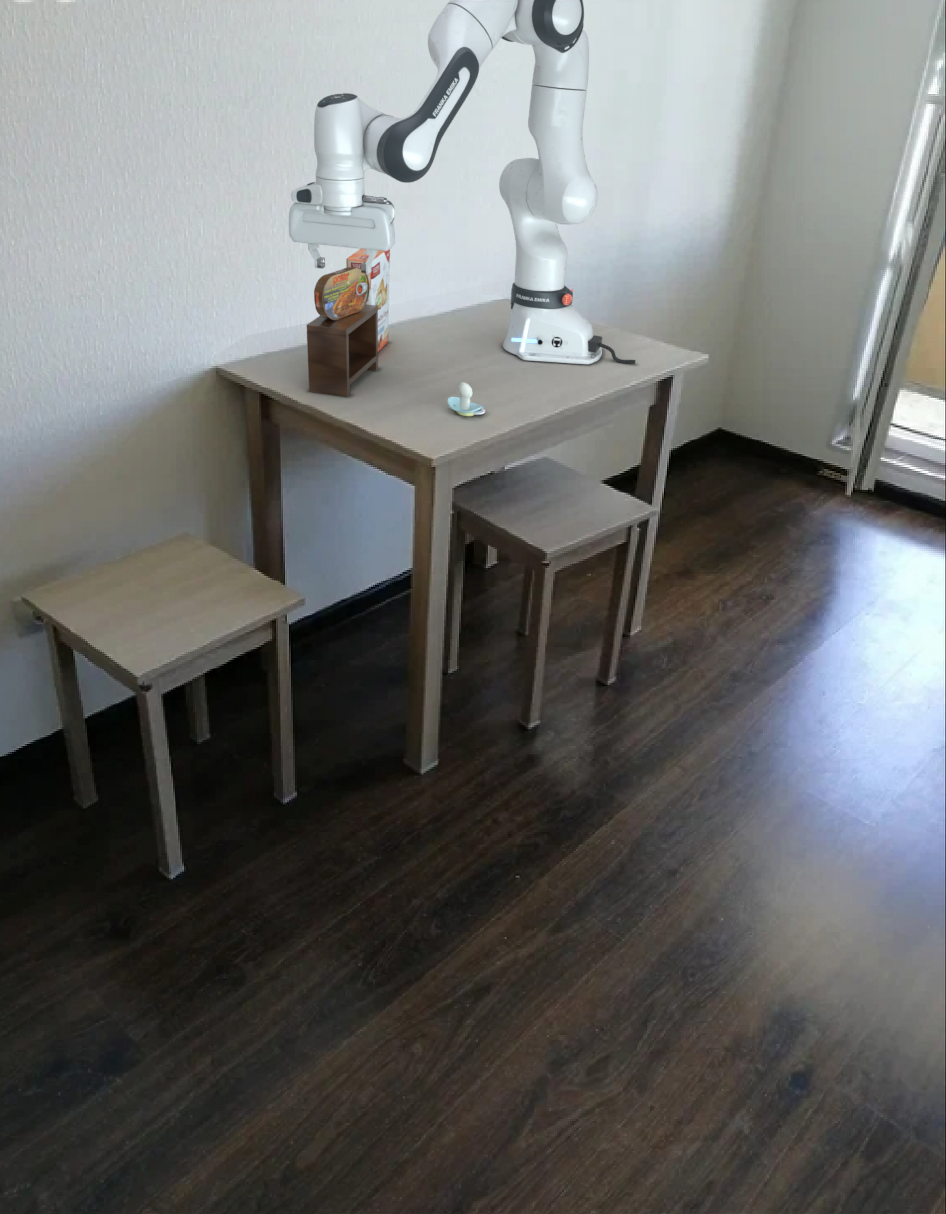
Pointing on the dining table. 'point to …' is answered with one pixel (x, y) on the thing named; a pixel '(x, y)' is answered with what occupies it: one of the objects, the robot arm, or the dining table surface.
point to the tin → (341, 293)
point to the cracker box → (376, 287)
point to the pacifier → (465, 402)
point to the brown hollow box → (341, 350)
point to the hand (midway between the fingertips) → (343, 270)
